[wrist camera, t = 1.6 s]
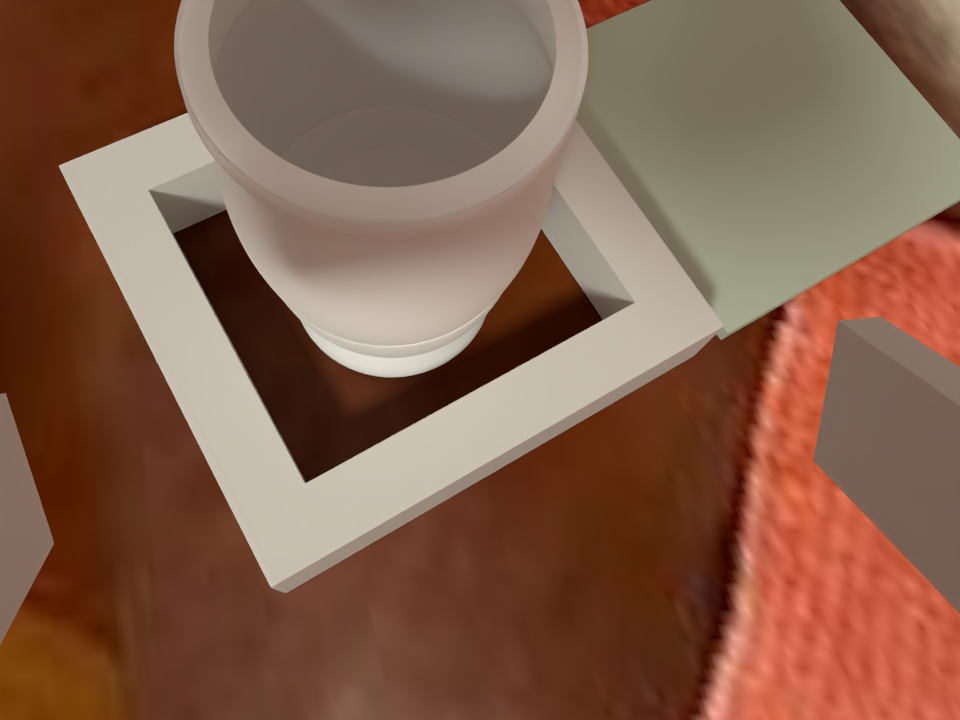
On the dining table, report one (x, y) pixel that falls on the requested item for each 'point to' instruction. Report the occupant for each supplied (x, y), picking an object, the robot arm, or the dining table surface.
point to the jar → (384, 155)
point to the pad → (763, 142)
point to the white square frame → (431, 441)
